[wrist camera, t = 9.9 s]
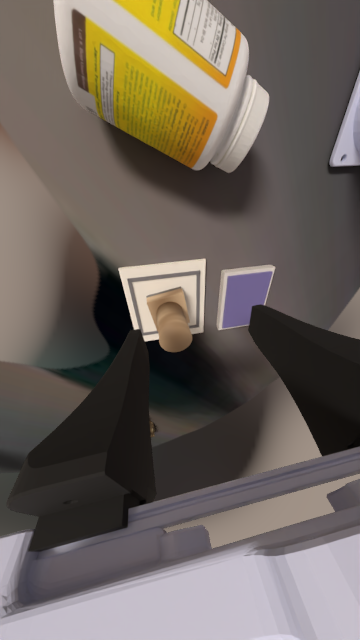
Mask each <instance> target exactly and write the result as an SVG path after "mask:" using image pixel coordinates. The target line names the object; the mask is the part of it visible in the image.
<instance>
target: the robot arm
mask: <svg viewBox="0 0 360 640" xmlns="http://www.w3.org/2000/svg"><path fill="white" fill-rule="evenodd" d="M341 158H342V160H341ZM329 163H330V166H331V167H339V166H359V165H360V72H359V75H358V78H357V81H356V84H355V87H354V90H353V93H352V96H351V98H350V101H349V104H348V107H347V110H346V113H345V116H344V119H343V122H342V125H341V128H340V131H339V134H338V137H337V140H336V143H335V146H334V149H333V152H332V155H331V158H330V162H329ZM248 331H249V333H250V335H251V336H252V338H253V340H254V342H255V343H256V345H257V346H258V348H259V349H260V350H261V352H262V353H263V354H264V356H265V357H266V358H267V360H268V361H269V362H270V363H271V365H272V366H273V367H274V369H275V370H276V371H277V373H278V374H279V376H280V377H281V379H282V381H283V382H284V384H285V385H286V387H287V389H288V390H289V392H290V394H291V396H292V397H293V399H294V401H295V403H296V404H297V406H298V408H299V410H300V412H301V414H302V416H303V417H304V420H305V421H306V423H307V425H308V427H309V429H310V432H311V434H312V435H313V438H314V440H315V442H316V444H317V446H318V448H319V451H320V453H321V455H322V457H319V458H315V459H311V460H308V461H304V462H300V463H296V464H293V465H289V466H285V467H282V468H278V469H274V470H271V471H267V472H263V473H259V474H256V475H252V476H248V477H244V478H241V479H237V480H233V481H230V482H226V483H222V484H219V485H215V486H211V487H207V488H204V489H200V490H197V491H192V492H189V493H185V494H181V495H178V496H174V497H170V498H166V499H163V500H159V501H155V502H153V500H154V498H155V496H156V487H155V477H154V468H153V457H152V446H151V434H150V421H149V403H148V399H149V356H148V350H147V347H146V344H145V341H144V338H143V335H142V332H141V329H136V330H131V331H130V332H129V334H128V336H127V338H126V340H125V342H124V344H123V345H122V347H121V349H120V351H119V353H118V354H117V356H116V358H115V359H114V361H113V363H112V364H111V366H110V367H109V369H108V370H107V372H106V373H105V375H104V376H103V377H102V379H101V380H100V381H99V383H98V384H97V385H96V387H95V388H94V389H93V390H92V391H91V393H90V394H89V395H88V396H87V397H86V398H85V399H84V401H83V402H82V403H81V404H80V405H79V406H78V407H77V408H76V409H75V410H74V411H73V412H72V413H71V415H70V416H68V417H67V418H66V419H65V420H64V421H63V422H62V423H61V424H60V425H59V426H58V427H57V428H56V429H55V430H54V431H53V432H52V433H51V434H50V435H49V436H47V437H46V438H45V439H44V440H43V441H42V442H41V443H40V444H39V445H37V446H36V447H35V448H34V449H33V450H32V451H31V452H29V454H28V456H27V458H26V460H25V462H24V464H23V466H22V468H21V471H20V473H19V475H18V478H17V480H16V482H15V485H14V487H13V489H12V491H11V493H10V496H9V498H8V500H7V506H8V508H9V509H10V510H12V511H15V512H19V513H24V514H29V515H34V516H38V517H39V519H38V522H37V525H36V528H35V529H28V530H23V531H19V532H15V533H11V534H8V535H4V536H0V640H360V479H358V480H355V481H352V482H350V483H347V484H346V485H345V486H343V487H342V488H340V489H338V490H336V491H333V492H331V493H329V494H327V498H328V500H329V502H330V503H331V505H332V507H333V508H334V510H335V512H334V513H330V514H327V515H324V516H320V517H317V518H313V519H310V520H306V521H303V522H300V523H297V524H293V525H290V526H286V527H283V528H280V529H277V530H273V531H270V532H266V533H263V534H260V535H256V536H253V537H250V538H246V539H243V540H240V541H237V542H233V543H230V544H226V545H223V546H220V547H216V548H213V549H212V548H211V544H210V539H209V533H208V531H207V530H206V529H205V527H204V526H203V525H199V526H194V527H190V528H184V529H180V530H175V531H171V532H168V533H167V532H166V531H165V530H163V529H164V528H167V527H171V526H174V525H178V524H182V523H185V522H189V521H192V520H196V519H199V518H203V517H207V516H210V515H214V514H217V513H221V512H224V511H228V510H231V509H235V508H239V507H242V506H245V505H249V504H253V503H256V502H260V501H264V500H267V499H271V498H274V497H278V496H281V495H285V494H288V493H292V492H296V491H299V490H303V489H306V488H310V487H313V486H317V485H320V484H324V483H328V482H331V481H335V480H338V479H342V478H345V477H349V476H353V475H356V474H360V340H359V339H355V338H351V337H347V336H344V335H340V334H337V333H334V332H330V331H327V330H324V329H321V328H318V327H315V326H313V325H310V324H307V323H305V322H302V321H300V320H297V319H295V318H293V317H290V316H288V315H286V314H283V313H281V312H279V311H276V310H274V309H272V308H270V307H267V306H265V305H262V304H260V305H255V306H252V309H251V316H250V323H249V329H248Z"/></svg>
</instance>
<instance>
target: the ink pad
mask: <svg viewBox="0 0 360 640" xmlns="http://www.w3.org/2000/svg"><path fill="white" fill-rule="evenodd" d="M274 270H275V267H274V266H272V265H263V266H254V267H245V268H237V269H228V270H222V271H221V282H220V293H219V304H218V315H217V328H218V329H219V330H222V329H228V328H235V327H241V326H248V325H249V323H250V316H251V309H252V306H255V305H260V304H262V305H265V303H266V299H267V296H268V292H269V288H270V285H271V281H272V278H273V274H274Z"/></svg>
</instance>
